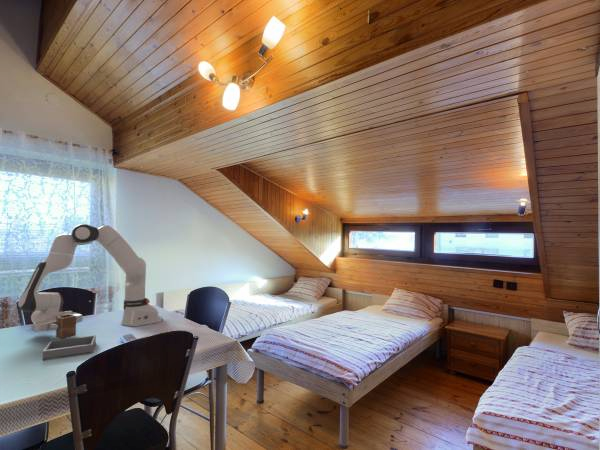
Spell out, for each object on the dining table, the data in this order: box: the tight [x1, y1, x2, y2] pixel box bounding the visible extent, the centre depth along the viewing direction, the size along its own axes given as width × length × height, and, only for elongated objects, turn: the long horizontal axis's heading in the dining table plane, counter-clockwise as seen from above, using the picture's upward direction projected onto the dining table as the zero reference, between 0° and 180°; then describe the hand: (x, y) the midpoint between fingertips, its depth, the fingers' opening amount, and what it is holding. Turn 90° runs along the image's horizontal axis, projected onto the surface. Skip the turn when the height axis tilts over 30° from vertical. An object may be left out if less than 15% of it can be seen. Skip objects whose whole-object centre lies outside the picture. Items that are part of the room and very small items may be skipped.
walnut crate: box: [55, 314, 77, 340], centre depth 160 cm, size 6×6×10 cm
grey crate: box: [42, 334, 97, 361], centre depth 147 cm, size 18×14×4 cm
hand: (67, 324), depth 160 cm, fingers closed on walnut crate, 6 cm apart
